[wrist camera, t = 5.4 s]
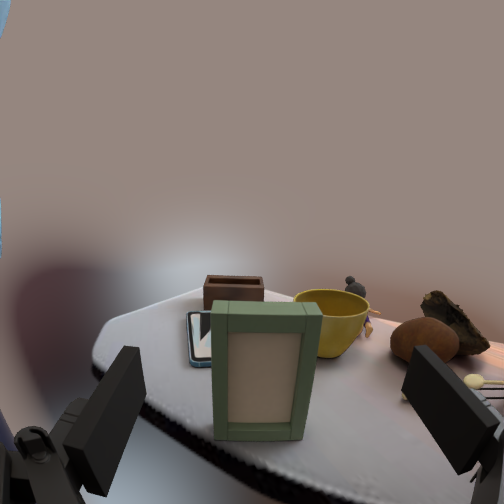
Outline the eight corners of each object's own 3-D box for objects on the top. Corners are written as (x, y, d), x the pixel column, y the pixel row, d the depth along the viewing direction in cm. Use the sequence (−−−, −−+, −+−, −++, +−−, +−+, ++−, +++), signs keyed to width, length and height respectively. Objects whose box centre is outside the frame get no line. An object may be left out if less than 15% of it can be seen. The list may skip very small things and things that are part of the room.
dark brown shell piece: (476, 329, 31) (442, 371, 33) (506, 346, 32) (476, 383, 34) (426, 273, 46) (403, 307, 48) (458, 293, 47) (436, 324, 49)
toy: (389, 348, 44) (370, 310, 59) (405, 317, 43) (381, 285, 57) (329, 330, 45) (322, 295, 59) (343, 297, 43) (332, 268, 58)
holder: (203, 310, 54) (203, 286, 53) (207, 297, 60) (207, 274, 59) (263, 312, 54) (264, 288, 53) (260, 298, 61) (262, 276, 60)
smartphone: (189, 362, 36) (185, 311, 50) (189, 369, 36) (186, 316, 50) (249, 359, 38) (230, 309, 52) (249, 365, 38) (230, 314, 52)
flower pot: (275, 341, 44) (278, 294, 42) (330, 327, 48) (335, 284, 47) (318, 376, 35) (326, 323, 34) (374, 354, 40) (385, 307, 38)
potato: (395, 310, 42) (376, 325, 37) (463, 309, 34) (455, 327, 30) (396, 354, 42) (378, 374, 37) (461, 357, 35) (451, 381, 30)
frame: (214, 440, 25) (210, 312, 22) (215, 422, 27) (213, 299, 24) (302, 440, 25) (323, 314, 22) (298, 422, 27) (316, 301, 25)
